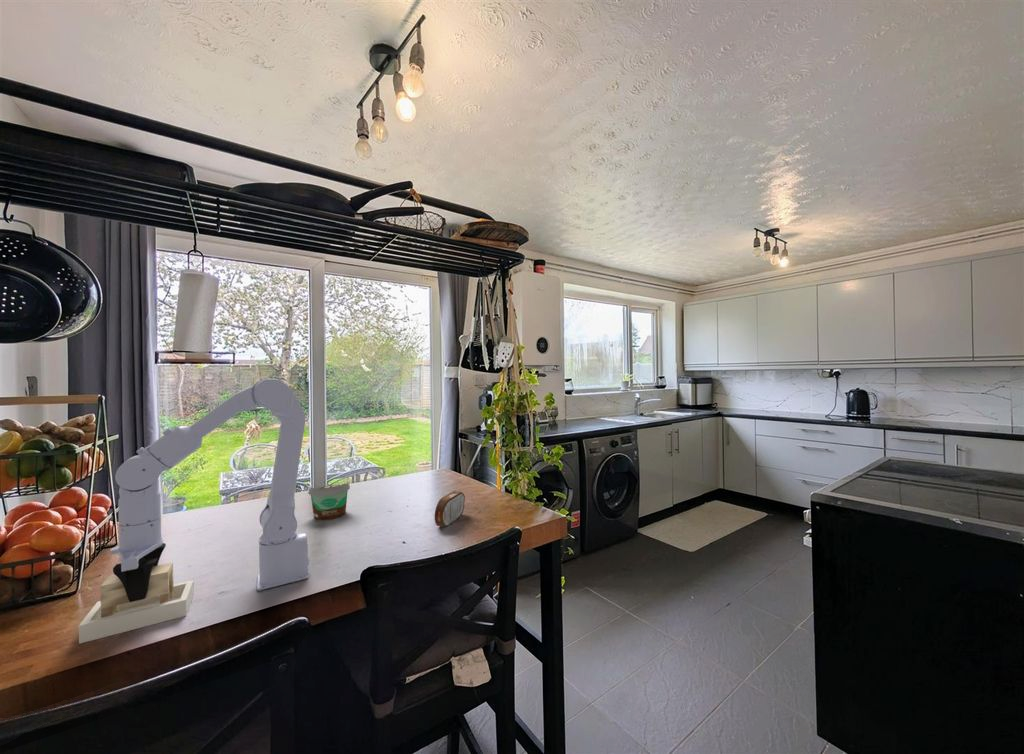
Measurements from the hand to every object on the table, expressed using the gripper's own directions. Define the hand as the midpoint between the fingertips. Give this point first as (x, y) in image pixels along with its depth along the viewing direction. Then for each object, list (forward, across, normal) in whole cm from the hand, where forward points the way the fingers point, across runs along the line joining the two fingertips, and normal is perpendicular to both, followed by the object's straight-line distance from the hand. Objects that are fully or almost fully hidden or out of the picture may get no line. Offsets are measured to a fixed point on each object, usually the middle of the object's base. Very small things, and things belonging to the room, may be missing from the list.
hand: (141, 593), depth 73 cm
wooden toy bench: (+3, 0, 0) cm, 3 cm away
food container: (+5, -37, +37) cm, 53 cm away
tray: (+4, 0, 0) cm, 4 cm away
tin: (+5, -12, +67) cm, 68 cm away
